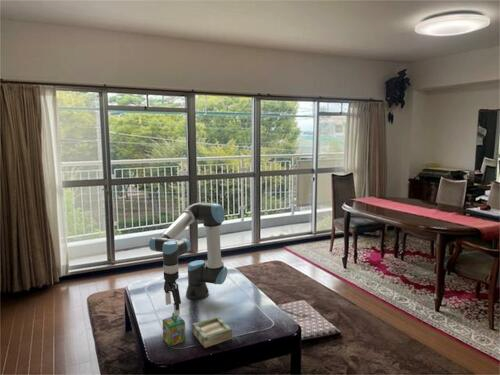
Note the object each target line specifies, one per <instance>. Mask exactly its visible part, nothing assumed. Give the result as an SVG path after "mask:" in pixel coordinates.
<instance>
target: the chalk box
mask: <svg viewBox="0 0 500 375" xmlns="http://www.w3.org/2000/svg"><path fill="white" fill-rule="evenodd" d="M161 323H162V340H163V341H164V342H165V343H166V344H167V345H168V346H169V347H173V346H175V345H179V344H182V343H183V342H185V341H186V322H185V320H184V319H183V318H182V317H181V316H180V315H177V316H174V312H172V314H171V316H170V317H167V318H164V319H162V322H161Z"/></svg>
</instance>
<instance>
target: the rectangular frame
mask: <svg viewBox="0 0 500 375" xmlns="http://www.w3.org/2000/svg"><path fill="white" fill-rule="evenodd" d="M192 334H193V335H194V337H196V339H197V341H199V343H200V344H201V345H202V346H203V348H204V349H206V348H208V347H211V346H214V345H217V344H220V343H222V342H227V341H229V340H231V339H233V329H232V328H231V327H230V326H229V325H228V323H227V322H225V320H224V319H222V317H221V316H219V315H217V316H213V317H211V318H207V319H203V320H200V321H198V322H194V323H192Z"/></svg>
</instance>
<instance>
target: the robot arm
mask: <svg viewBox="0 0 500 375" xmlns="http://www.w3.org/2000/svg"><path fill="white" fill-rule="evenodd" d="M225 217H226V213H225V209H224V207H223V205H222V204H220V203H210V202H209V203H208V202H196V203H192V204H191V205H189V206H187V207H185V209H183V210H182V211H181V212H180V216H179V217H177V219H176V220H175V221H173V222H172V223H171V225H169V226H168V227H167V228H166V229H165V230H164V231H163V232H162V233H161V234H160V235H159V236H156V237H155V236H153V237H151V238H150V239H149V241H148V248H149V249H150V251H152V252H160V253H162V263H163V266H162V269H163V279H164V284H163V291H164V293H165V294H164V295H165V305H166V306H168V305H171V304H173V313H174V316H177V315H178V316H180V315H181V312H180V311H181V310H180V308H181V307H180V305H181V304H182V300H181V295H180V291H179V290H180V289H179V283H177V282H176V281H177V280H178V279H179V277H180V276H179V257H180V256H182V255H184V254H185V253H187V252H188V251H189V250H190V249H191V242H190V240H188V239H187V238H185V237H184V238H183V237H182V238H180V239H177V238H178V236H180V235H181V233H182V232H183V231H185V229H186V228H188V226H189V225H192V224H193V223H194V222H202V223H203V227H205V236H206V249H207V250H206V251H207V253H206V254H207V262H206V261H205V260H203V259H200V260H194V261H193V260H192V261H191V262H189V263H188V265H187V280H188V281H187V282H188V284H187V287H186V291H185V297H186V298H187V299H190V300H193V301H194V300H195V301H198V300H203V299H205V298H207V297H208V296H209V292H210V291H209V288H208V284H212V285H222V284H224V283H225V281H226V279H227V275H228V268H227V266H225V264H224V261H223V260H222V252H221V234H220V233H221V231H220V230H221V229H220V227H221V226H222V224H223V222H224V221H225ZM207 283H208V284H207ZM171 294H172V296H171ZM171 297H172V298H171ZM172 299H173V303H172Z"/></svg>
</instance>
